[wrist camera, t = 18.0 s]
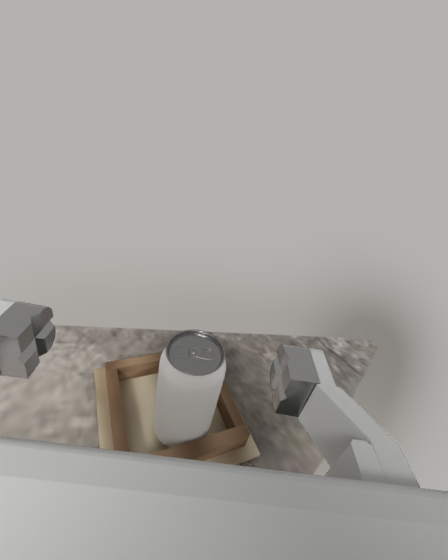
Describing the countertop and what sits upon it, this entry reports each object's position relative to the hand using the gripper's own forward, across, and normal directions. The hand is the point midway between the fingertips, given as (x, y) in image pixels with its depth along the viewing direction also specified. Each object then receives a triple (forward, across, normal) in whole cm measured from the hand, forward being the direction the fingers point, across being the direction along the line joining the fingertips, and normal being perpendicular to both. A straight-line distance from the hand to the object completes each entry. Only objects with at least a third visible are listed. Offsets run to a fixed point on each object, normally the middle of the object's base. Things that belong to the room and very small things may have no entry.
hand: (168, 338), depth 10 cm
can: (+12, -2, +24) cm, 27 cm away
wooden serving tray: (+13, 0, +25) cm, 28 cm away
